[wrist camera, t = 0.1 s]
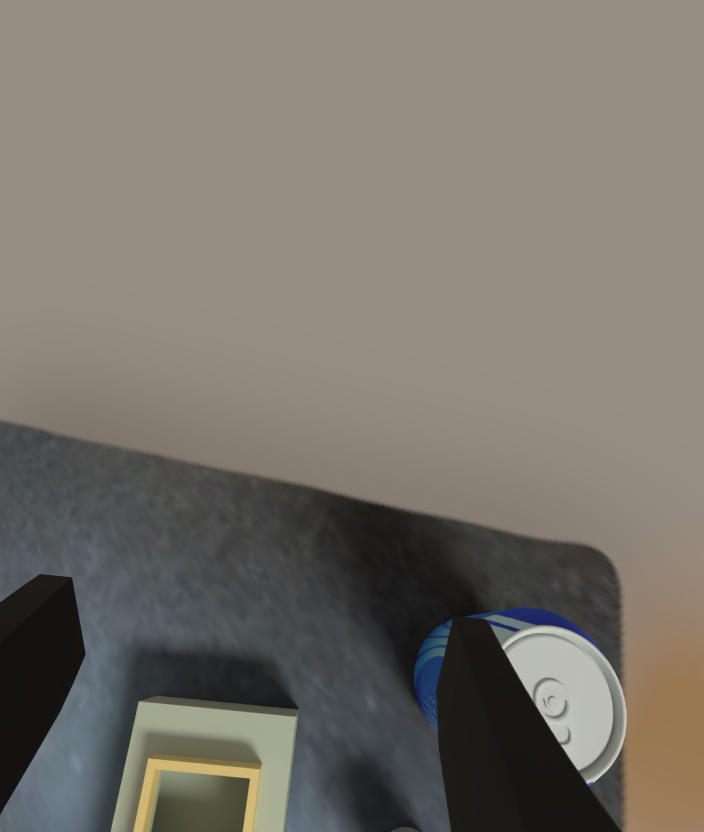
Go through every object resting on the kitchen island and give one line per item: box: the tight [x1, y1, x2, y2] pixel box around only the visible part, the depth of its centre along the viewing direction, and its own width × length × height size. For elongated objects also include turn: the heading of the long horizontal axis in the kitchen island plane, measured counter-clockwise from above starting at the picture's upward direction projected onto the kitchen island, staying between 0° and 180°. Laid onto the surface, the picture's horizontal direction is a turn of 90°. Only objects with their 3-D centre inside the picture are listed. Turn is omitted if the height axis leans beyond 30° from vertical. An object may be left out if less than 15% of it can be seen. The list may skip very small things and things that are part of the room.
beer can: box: [414, 608, 626, 786], centre depth 32 cm, size 8×8×16 cm
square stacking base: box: [111, 695, 299, 832], centre depth 33 cm, size 12×10×6 cm
